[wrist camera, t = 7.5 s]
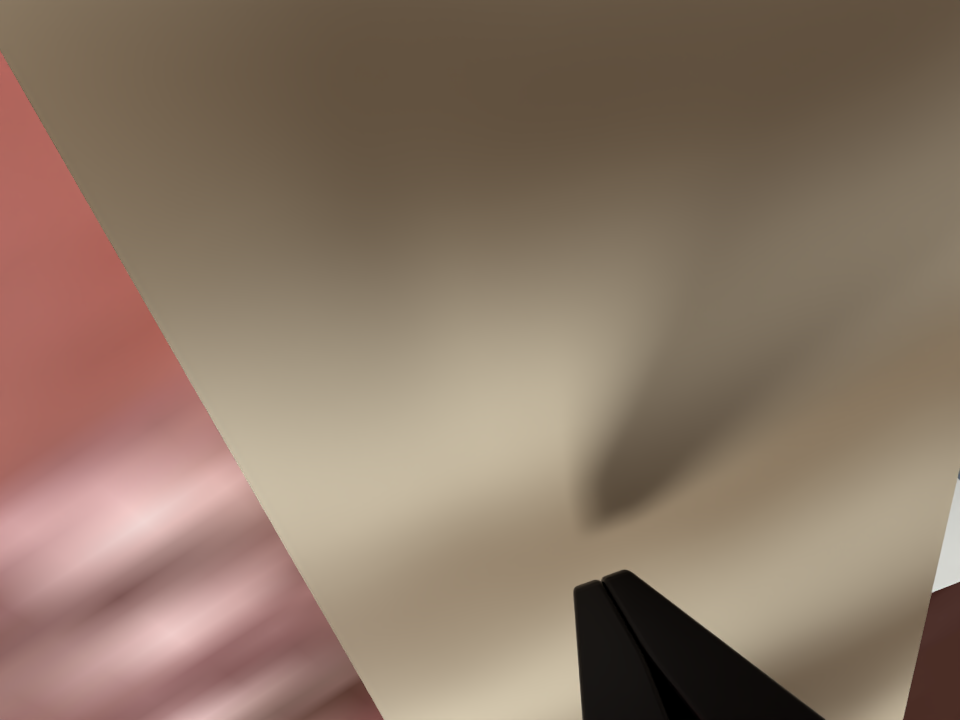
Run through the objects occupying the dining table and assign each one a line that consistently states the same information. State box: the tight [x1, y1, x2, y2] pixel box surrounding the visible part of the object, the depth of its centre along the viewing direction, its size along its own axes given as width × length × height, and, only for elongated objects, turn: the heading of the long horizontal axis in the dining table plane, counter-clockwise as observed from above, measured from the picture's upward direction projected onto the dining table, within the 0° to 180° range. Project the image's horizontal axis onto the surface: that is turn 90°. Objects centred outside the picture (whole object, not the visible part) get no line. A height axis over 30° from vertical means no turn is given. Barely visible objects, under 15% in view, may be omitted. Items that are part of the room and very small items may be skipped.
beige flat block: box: [0, 0, 960, 720], centre depth 11 cm, size 20×11×4 cm, turn 14°
